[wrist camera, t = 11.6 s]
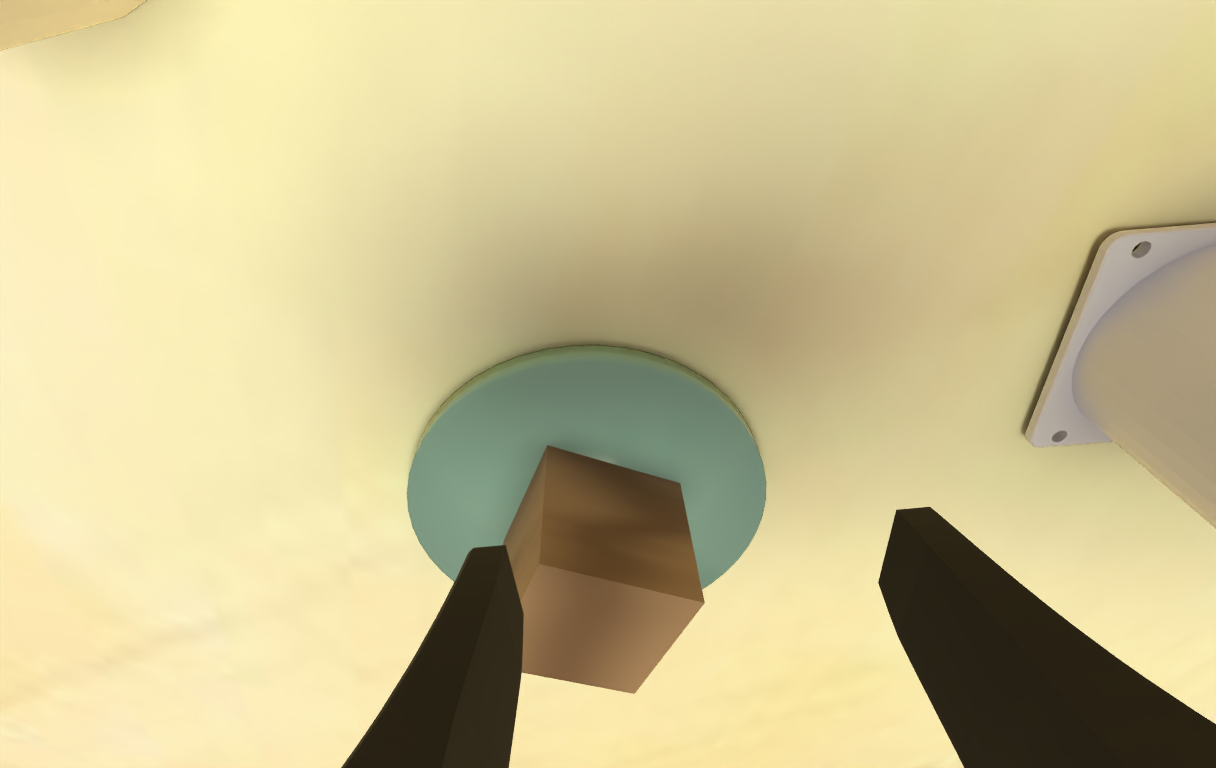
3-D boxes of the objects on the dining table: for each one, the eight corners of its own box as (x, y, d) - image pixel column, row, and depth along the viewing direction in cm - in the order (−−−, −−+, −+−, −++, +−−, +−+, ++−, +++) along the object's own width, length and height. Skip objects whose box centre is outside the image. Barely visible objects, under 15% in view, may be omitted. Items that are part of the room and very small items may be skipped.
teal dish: (772, 329, 19) (781, 345, 19) (749, 589, 27) (754, 609, 26) (369, 362, 19) (360, 379, 19) (454, 613, 27) (450, 633, 26)
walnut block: (680, 483, 22) (704, 602, 17) (624, 570, 24) (634, 693, 20) (547, 444, 20) (539, 563, 16) (503, 541, 23) (486, 665, 19)
